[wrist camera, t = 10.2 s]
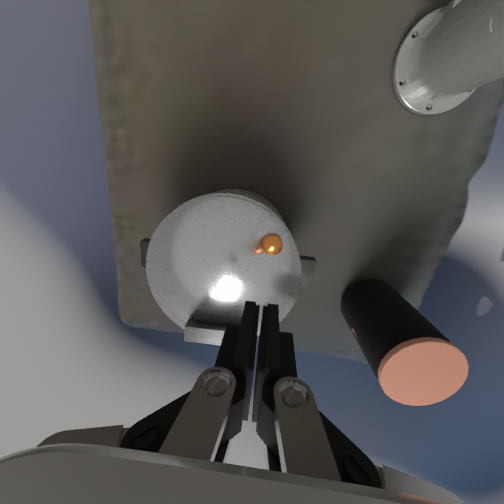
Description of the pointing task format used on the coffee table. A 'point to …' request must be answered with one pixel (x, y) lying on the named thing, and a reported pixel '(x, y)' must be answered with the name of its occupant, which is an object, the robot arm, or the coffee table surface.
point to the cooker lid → (221, 265)
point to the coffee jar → (402, 345)
